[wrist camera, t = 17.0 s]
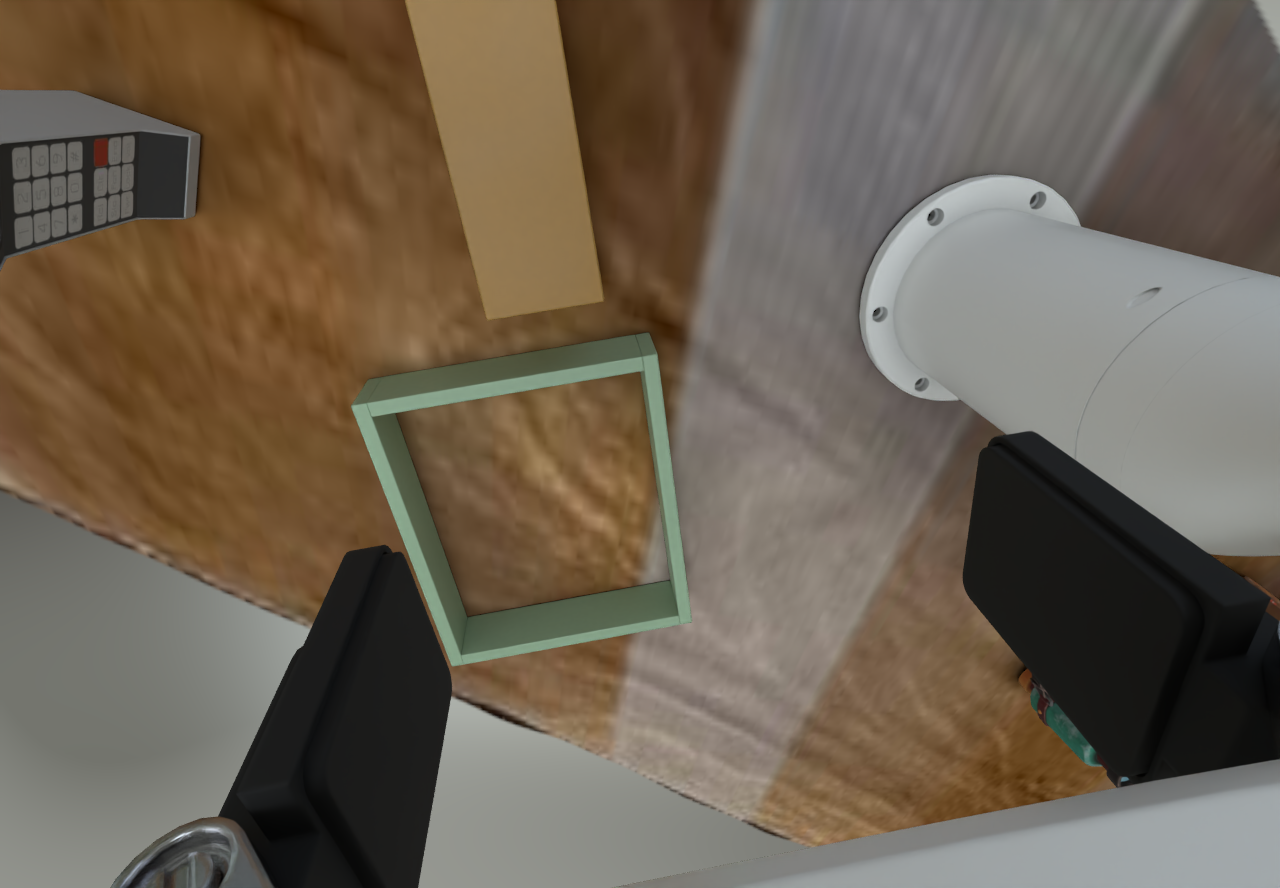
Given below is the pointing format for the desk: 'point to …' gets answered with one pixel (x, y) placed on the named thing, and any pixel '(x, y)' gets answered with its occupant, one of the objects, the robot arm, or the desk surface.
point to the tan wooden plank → (511, 150)
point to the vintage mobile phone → (86, 168)
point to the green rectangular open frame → (419, 533)
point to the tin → (1275, 606)
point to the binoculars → (1065, 726)
